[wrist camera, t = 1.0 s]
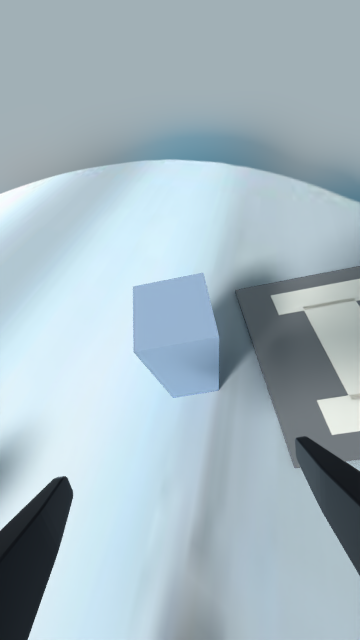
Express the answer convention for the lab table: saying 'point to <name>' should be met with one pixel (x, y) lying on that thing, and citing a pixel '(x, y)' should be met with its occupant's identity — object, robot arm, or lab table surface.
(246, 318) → the letter mat
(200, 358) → the blue block
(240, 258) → the lab table surface
